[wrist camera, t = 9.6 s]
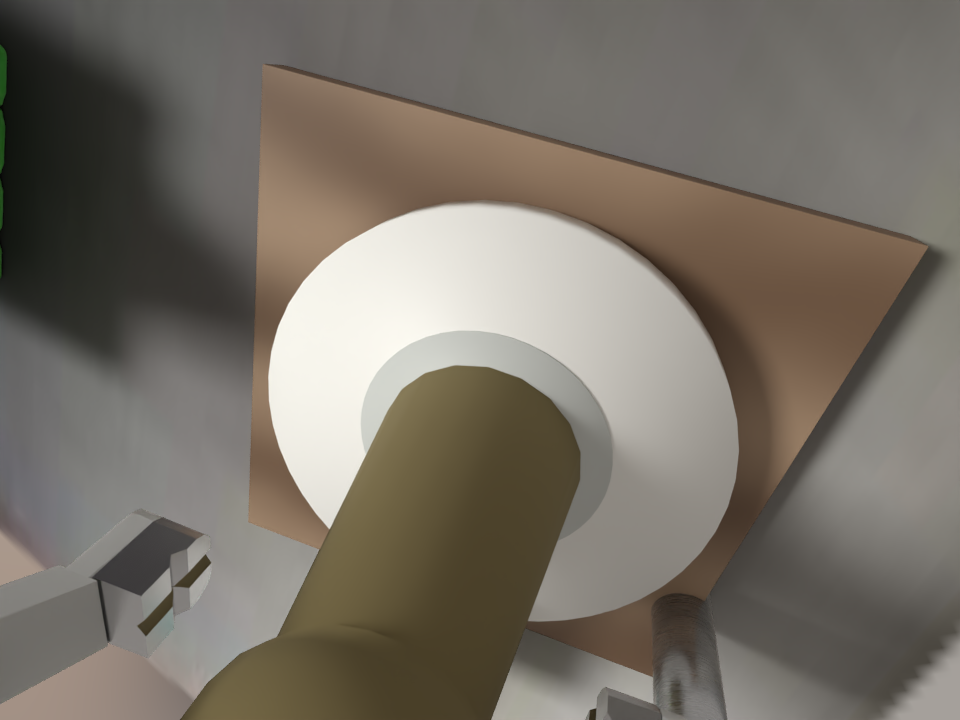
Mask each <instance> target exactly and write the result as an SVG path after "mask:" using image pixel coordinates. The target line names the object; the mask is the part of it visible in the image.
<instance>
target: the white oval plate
mask: <svg viewBox="0 0 960 720" xmlns="http://www.w3.org/2000/svg"><path fill="white" fill-rule="evenodd" d="M453 365H461V366H481V367H490V368H493V369H496V370H499V371H501V372H504V373H507V374H510V375H513V376H516V377H519V378H521V379H523V380H524V381H526V382H527V383H529V384H530V385H531V386H533V387H534V388H536V389H537V390H539V391H540V392H542V393H543V394H544V395H546V396H547V397H549V398H550V399H551V401H552V402H553V403H554V404H555V406H556V407H557V408H558V409H559V411H560V412H561V413H562V414H563V416H564V417H565V418H566V419H567V421H568V422H569V423H570V425H571V428H572V430H573V433H574V436H575V438H576V441H577V444H578V447H579V449H580V452H581V460H580V482H579V485H578V487H577V490H576V493H575V495H574V498H573V501H572V503H571V506H570V509H569V512H568V514H567V517H566V520H565V522H564V525H563V528H562V530H561V533H560V536H559V538H558V541H557V544H556V546H555V549H554V552H553V554H552V557H551V560H550V563H549V565H548V568H547V571H546V573H545V576H544V579H543V581H542V584H541V587H540V589H539V592H538V595H537V597H536V600H535V603H534V606H533V608H532V611H531V614H530V616H529V619H528V621H537V622H541V621H561V620H570V619H576V618H583V617H589V616H593V615H597V614H601V613H604V612H608V611H612V610H615V609H618V608H620V607H623V606H625V605H628V604H630V603H633V602H635V601H638V600H640V599H642V598H643V597H645V596H647V595H649V594H651V593H652V592H654V591H656V590H658V589H659V588H661V587H663V586H664V585H665V584H667V583H668V582H669V581H671V580H672V579H673V578H674V577H676V576H677V575H678V574H680V573H681V572H682V571H683V570H684V569H685V568H686V567H687V566H688V565H689V564H690V563H691V562H692V561H693V560H694V559H695V558H696V557H697V556H698V555H699V554H700V553H701V552H702V550H703V549H704V547H705V546H706V545H707V543H708V542H709V540H710V539H711V537H712V536H713V535H714V533H715V532H716V530H717V528H718V526H719V524H720V522H721V520H722V518H723V516H724V514H725V512H726V510H727V507H728V505H729V501H730V498H731V494H732V491H733V487H734V484H735V481H736V473H737V464H738V455H739V443H738V426H737V418H736V413H735V409H734V404H733V400H732V395H731V391H730V387H729V384H728V381H727V377H726V374H725V371H724V368H723V365H722V363H721V360H720V358H719V355H718V353H717V350H716V348H715V345H714V343H713V340H712V338H711V336H710V335H709V333H708V331H707V330H706V328H705V326H704V325H703V323H702V321H701V319H700V318H699V316H698V314H697V313H696V311H695V310H694V308H693V307H692V306H691V305H690V303H689V302H688V301H687V300H686V298H685V297H684V296H683V295H682V294H681V292H680V291H679V290H678V289H677V287H676V286H675V285H674V284H673V283H672V282H671V281H670V280H669V279H668V278H667V277H666V276H665V275H664V274H663V273H662V272H660V271H659V270H658V269H657V268H656V267H655V266H654V265H653V264H652V263H651V262H650V261H649V260H647V259H646V258H645V257H643V256H642V255H640V254H639V253H638V252H636V251H635V250H633V249H632V248H631V247H629V246H628V245H626V244H625V243H623V242H622V241H621V240H619V239H617V238H615V237H614V236H612V235H610V234H608V233H606V232H604V231H602V230H600V229H598V228H596V227H594V226H593V225H591V224H589V223H587V222H584V221H581V220H578V219H576V218H573V217H570V216H567V215H565V214H562V213H559V212H556V211H554V210H550V209H545V208H540V207H536V206H531V205H527V204H522V203H516V202H503V201H491V200H475V201H458V202H448V203H443V204H438V205H433V206H428V207H423V208H419V209H416V210H413V211H410V212H408V213H405V214H402V215H399V216H397V217H394V218H391V219H389V220H387V221H385V222H383V223H381V224H380V225H378V226H376V227H374V228H372V229H370V230H368V231H366V232H365V233H363V234H361V235H359V236H357V237H355V238H354V239H352V240H350V241H348V242H346V243H345V244H343V245H342V246H341V247H340V248H338V249H337V250H336V251H334V252H333V253H332V254H331V255H329V256H328V257H327V258H325V259H324V260H323V261H322V262H321V263H320V264H319V265H318V266H317V267H316V268H315V269H314V270H313V271H312V273H311V274H310V275H309V276H308V277H307V278H306V279H305V280H304V281H303V283H302V284H301V286H300V287H299V289H298V290H297V292H296V293H295V295H294V296H293V298H292V299H291V301H290V302H289V304H288V306H287V308H286V310H285V313H284V315H283V317H282V319H281V321H280V324H279V326H278V329H277V332H276V336H275V340H274V343H273V347H272V351H271V358H270V367H269V375H268V381H269V404H270V410H271V417H272V423H273V427H274V431H275V434H276V438H277V441H278V444H279V448H280V450H281V453H282V455H283V458H284V460H285V462H286V465H287V467H288V469H289V472H290V473H291V475H292V477H293V479H294V481H295V482H296V484H297V486H298V488H299V490H300V491H301V493H302V495H303V496H304V497H305V499H306V500H307V502H308V503H309V504H310V506H311V507H312V509H313V510H314V512H315V513H316V514H317V515H318V517H319V518H320V519H321V520H322V521H323V522H324V523H325V525H326V526H327V527H328V528H329V529H330V528H331V526H332V523H333V521H334V519H335V517H336V515H337V513H338V511H339V509H340V507H341V505H342V503H343V501H344V499H345V497H346V495H347V493H348V491H349V489H350V487H351V485H352V483H353V481H354V478H355V476H356V474H357V472H358V470H359V468H360V466H361V464H362V462H363V460H364V458H365V456H366V454H367V452H368V450H369V448H370V446H371V444H372V442H373V440H374V438H375V436H376V434H377V431H378V429H379V427H380V425H381V423H382V421H383V419H384V417H385V415H386V413H387V411H388V409H389V408H390V406H391V405H392V403H393V402H394V400H395V399H396V397H397V396H398V394H399V393H400V391H401V390H402V389H403V388H404V387H405V386H407V385H408V384H410V383H411V382H413V381H414V380H416V379H417V378H418V377H420V376H421V375H423V374H424V373H427V372H431V371H434V370H438V369H442V368H446V367H450V366H453Z"/></svg>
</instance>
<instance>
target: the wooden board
mask: <svg viewBox="0 0 960 720" xmlns="http://www.w3.org/2000/svg"><path fill="white" fill-rule="evenodd" d="M475 200H491V201H503V202H516V203H522V204H527V205H531V206H536V207H540V208H545V209H550V210H554V211H556V212H559V213H562V214H565V215H567V216H570V217H573V218H576V219H578V220H581V221H584V222H587V223H589V224H591V225H593V226H594V227H596V228H598V229H600V230H602V231H604V232H606V233H608V234H610V235H612V236H614V237H615V238H617V239H619V240H621V241H622V242H623V243H625V244H626V245H628V246H629V247H631V248H632V249H633V250H635V251H636V252H638V253H639V254H640V255H642V256H643V257H645V258H646V259H647V260H649V261H650V262H651V263H652V264H653V265H654V266H655V267H656V268H657V269H658V270H659V271H660V272H662V273H663V274H664V275H665V276H666V277H667V278H668V279H669V280H670V281H671V282H672V283H673V284H674V285H675V286H676V287H677V289H678V290H679V291H680V292H681V294H682V295H683V296H684V297H685V298H686V300H687V301H688V302H689V303H690V305H691V306H692V307H693V308H694V310H695V311H696V313H697V314H698V316H699V318H700V319H701V321H702V323H703V325H704V326H705V328H706V330H707V331H708V333H709V335H710V336H711V338H712V340H713V343H714V345H715V348H716V350H717V353H718V355H719V358H720V360H721V363H722V365H723V368H724V371H725V374H726V377H727V381H728V384H729V387H730V391H731V395H732V400H733V404H734V409H735V413H736V418H737V426H738V443H739V455H738V464H737V473H736V481H735V484H734V487H733V491H732V494H731V498H730V501H729V505H728V507H727V510H726V512H725V514H724V516H723V518H722V520H721V522H720V524H719V526H718V528H717V530H716V532H715V533H714V535H713V536H712V537H711V539H710V540H709V542H708V543H707V545H706V546H705V547H704V549H703V550H702V552H701V553H700V554H699V555H698V556H697V557H696V558H695V559H694V560H693V561H692V562H691V563H690V564H689V565H688V566H687V567H686V568H685V569H684V570H683V571H682V572H681V573H680V574H678V575H677V576H676V577H674V578H673V579H672V580H671V581H669V582H668V583H667V584H665V585H664V586H663V587H661V588H659V589H658V590H656V591H654V592H652V593H651V594H649V595H647V596H645V597H643V598H642V599H640V600H638V601H635V602H633V603H630V604H628V605H625V606H623V607H620V608H618V609H615V610H612V611H608V612H604V613H601V614H597V615H593V616H589V617H583V618H576V619H570V620H561V621H541V622H537V621H528V622H527V624H526V627H525V628H526V629H529V630H531V631H534V632H537V633H539V634H542V635H544V636H547V637H550V638H552V639H555V640H558V641H560V642H563V643H565V644H568V645H571V646H573V647H576V648H578V649H581V650H584V651H586V652H589V653H591V654H594V655H597V656H599V657H602V658H605V659H607V660H610V661H612V662H615V663H618V664H620V665H623V666H625V667H628V668H631V669H633V670H636V671H638V672H641V673H644V674H646V675H649V676H652V677H653V659H652V618H651V609H652V606H653V604H654V602H655V601H656V600H657V599H659V598H660V597H662V596H664V595H667V594H672V593H684V594H689V595H693V596H695V597H697V598H699V599H701V600H703V601H705V599H706V598H707V596H708V595H709V593H710V591H711V590H712V588H713V587H714V585H715V583H716V582H717V580H718V579H719V577H720V576H721V574H722V572H723V571H724V569H725V568H726V566H727V565H728V563H729V561H730V560H731V558H732V557H733V555H734V553H735V552H736V550H737V549H738V547H739V546H740V544H741V542H742V541H743V539H744V538H745V536H746V534H747V533H748V531H749V530H750V528H751V527H752V525H753V523H754V522H755V520H756V519H757V517H758V516H759V514H760V512H761V511H762V509H763V508H764V506H765V504H766V503H767V501H768V500H769V498H770V497H771V495H772V493H773V492H774V490H775V489H776V487H777V485H778V484H779V482H780V481H781V479H782V478H783V476H784V474H785V473H786V471H787V470H788V468H789V466H790V465H791V463H792V462H793V460H794V459H795V457H796V455H797V454H798V452H799V451H800V449H801V448H802V446H803V444H804V443H805V441H806V440H807V438H808V436H809V435H810V433H811V432H812V430H813V429H814V427H815V425H816V424H817V422H818V421H819V419H820V417H821V416H822V414H823V413H824V411H825V410H826V408H827V406H828V405H829V403H830V402H831V400H832V399H833V397H834V395H835V394H836V392H837V391H838V389H839V387H840V386H841V384H842V383H843V381H844V380H845V378H846V376H847V375H848V373H849V372H850V370H851V368H852V367H853V365H854V364H855V362H856V361H857V359H858V357H859V356H860V354H861V353H862V351H863V350H864V348H865V346H866V345H867V343H868V342H869V340H870V338H871V337H872V335H873V334H874V332H875V331H876V329H877V327H878V326H879V324H880V323H881V321H882V319H883V318H884V316H885V315H886V313H887V312H888V310H889V308H890V307H891V305H892V304H893V302H894V300H895V299H896V297H897V296H898V294H899V293H900V291H901V289H902V288H903V286H904V285H905V283H906V282H907V280H908V278H909V277H910V275H911V274H912V272H913V270H914V269H915V267H916V266H917V264H918V263H919V261H920V259H921V258H922V256H923V255H924V253H925V251H926V250H927V248H928V247H929V246H927V245H925V244H923V243H922V242H920V241H918V240H916V239H914V238H912V237H911V236H907V235H904V234H900V233H896V232H893V231H889V230H885V229H882V228H878V227H874V226H871V225H867V224H863V223H860V222H856V221H852V220H849V219H845V218H841V217H838V216H834V215H830V214H827V213H823V212H819V211H816V210H812V209H808V208H805V207H801V206H797V205H794V204H790V203H786V202H783V201H779V200H775V199H772V198H768V197H764V196H761V195H757V194H753V193H750V192H746V191H742V190H739V189H735V188H731V187H728V186H724V185H720V184H717V183H713V182H709V181H706V180H702V179H698V178H695V177H691V176H687V175H684V174H680V173H676V172H673V171H669V170H665V169H662V168H658V167H654V166H651V165H647V164H643V163H640V162H636V161H632V160H629V159H625V158H621V157H618V156H614V155H610V154H607V153H603V152H600V151H596V150H592V149H589V148H585V147H581V146H578V145H574V144H570V143H567V142H563V141H559V140H556V139H552V138H548V137H545V136H541V135H537V134H534V133H530V132H526V131H523V130H519V129H515V128H512V127H508V126H504V125H501V124H497V123H493V122H490V121H486V120H482V119H479V118H475V117H471V116H468V115H464V114H460V113H457V112H453V111H449V110H446V109H442V108H438V107H435V106H431V105H427V104H424V103H420V102H416V101H413V100H409V99H405V98H402V97H398V96H394V95H391V94H387V93H383V92H380V91H376V90H372V89H369V88H365V87H361V86H358V85H354V84H350V83H347V82H343V81H339V80H336V79H332V78H328V77H325V76H321V75H317V74H314V73H310V72H306V71H303V70H299V69H295V68H292V67H288V66H284V65H272V64H263V74H262V106H261V138H260V169H259V201H258V233H257V265H256V296H255V328H254V360H253V392H252V423H251V455H250V487H249V519H248V522H249V523H252V524H255V525H257V526H260V527H263V528H265V529H268V530H270V531H273V532H276V533H278V534H281V535H283V536H286V537H289V538H291V539H294V540H296V541H299V542H302V543H304V544H307V545H310V546H312V547H315V548H317V549H320V548H321V546H322V544H323V542H324V540H325V538H326V536H327V534H328V532H329V530H330V529H329V528H328V527H327V526H326V525H325V523H324V522H323V521H322V520H321V519H320V518H319V517H318V515H317V514H316V513H315V512H314V510H313V509H312V507H311V506H310V504H309V503H308V502H307V500H306V499H305V497H304V496H303V495H302V493H301V491H300V490H299V488H298V486H297V484H296V482H295V481H294V479H293V477H292V475H291V473H290V472H289V469H288V467H287V465H286V462H285V460H284V458H283V455H282V453H281V450H280V448H279V444H278V441H277V438H276V434H275V431H274V427H273V423H272V417H271V410H270V404H269V381H268V375H269V367H270V358H271V351H272V347H273V343H274V340H275V336H276V332H277V329H278V326H279V324H280V321H281V319H282V317H283V315H284V313H285V310H286V308H287V306H288V304H289V302H290V301H291V299H292V298H293V296H294V295H295V293H296V292H297V290H298V289H299V287H300V286H301V284H302V283H303V281H304V280H305V279H306V278H307V277H308V276H309V275H310V274H311V273H312V271H313V270H314V269H315V268H316V267H317V266H318V265H319V264H320V263H321V262H322V261H323V260H324V259H325V258H327V257H328V256H329V255H331V254H332V253H333V252H334V251H336V250H337V249H338V248H340V247H341V246H342V245H343V244H345V243H346V242H348V241H350V240H352V239H354V238H355V237H357V236H359V235H361V234H363V233H365V232H366V231H368V230H370V229H372V228H374V227H376V226H378V225H380V224H381V223H383V222H385V221H387V220H389V219H391V218H394V217H397V216H399V215H402V214H405V213H408V212H410V211H413V210H416V209H419V208H423V207H428V206H433V205H438V204H443V203H448V202H458V201H475Z"/></svg>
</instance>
